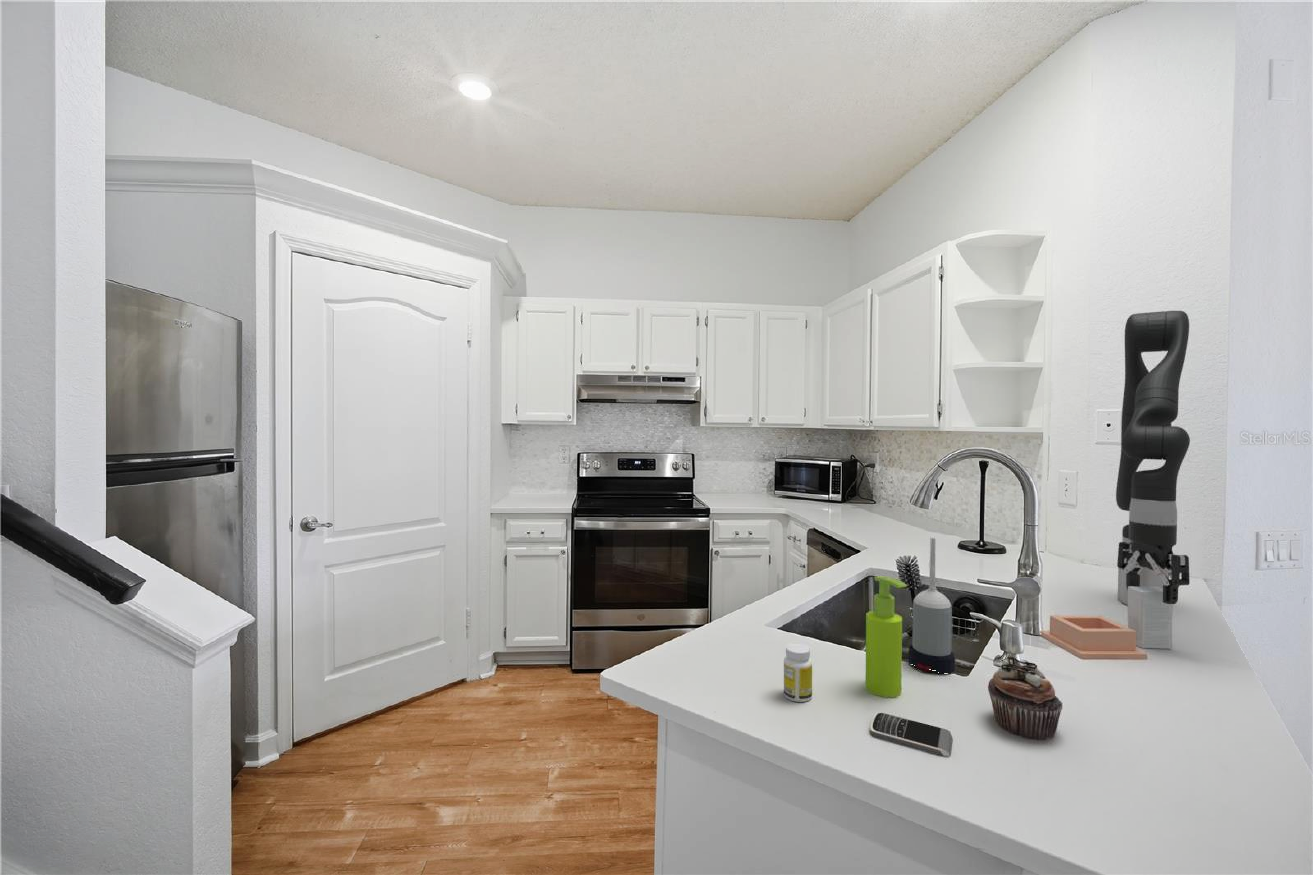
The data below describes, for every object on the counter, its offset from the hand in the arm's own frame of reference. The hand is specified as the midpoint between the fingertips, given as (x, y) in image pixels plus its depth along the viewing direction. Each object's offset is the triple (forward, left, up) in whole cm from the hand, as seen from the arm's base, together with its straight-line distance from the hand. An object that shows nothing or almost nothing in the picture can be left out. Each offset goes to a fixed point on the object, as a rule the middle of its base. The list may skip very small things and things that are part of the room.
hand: (1150, 597), depth 116 cm
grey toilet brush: (+10, -51, -11) cm, 53 cm away
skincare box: (0, 0, -11) cm, 11 cm away
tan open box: (+1, -13, -10) cm, 17 cm away
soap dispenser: (+20, -64, -11) cm, 68 cm away
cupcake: (+31, -47, -11) cm, 57 cm away
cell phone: (+34, -66, -11) cm, 75 cm away
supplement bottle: (+22, -80, -11) cm, 83 cm away
